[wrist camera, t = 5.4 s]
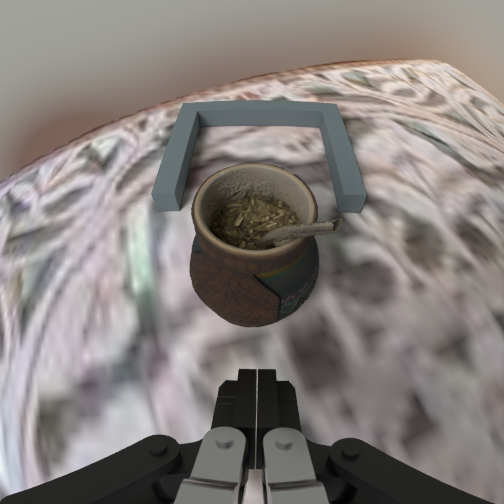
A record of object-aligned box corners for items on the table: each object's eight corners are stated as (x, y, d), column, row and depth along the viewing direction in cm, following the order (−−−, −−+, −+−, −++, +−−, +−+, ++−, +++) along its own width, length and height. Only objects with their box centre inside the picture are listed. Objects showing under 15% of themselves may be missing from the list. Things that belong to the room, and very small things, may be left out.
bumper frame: (333, 119, 30) (336, 103, 29) (360, 212, 23) (366, 195, 22) (185, 118, 31) (183, 103, 29) (157, 211, 24) (151, 193, 22)
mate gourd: (240, 222, 23) (235, 102, 14) (333, 273, 21) (379, 159, 12) (176, 297, 20) (125, 187, 11) (275, 363, 17) (299, 289, 9)
